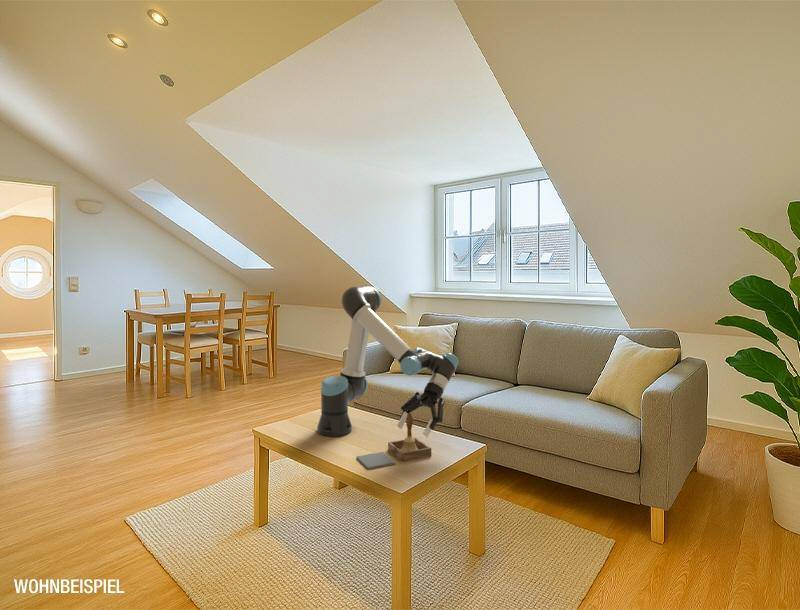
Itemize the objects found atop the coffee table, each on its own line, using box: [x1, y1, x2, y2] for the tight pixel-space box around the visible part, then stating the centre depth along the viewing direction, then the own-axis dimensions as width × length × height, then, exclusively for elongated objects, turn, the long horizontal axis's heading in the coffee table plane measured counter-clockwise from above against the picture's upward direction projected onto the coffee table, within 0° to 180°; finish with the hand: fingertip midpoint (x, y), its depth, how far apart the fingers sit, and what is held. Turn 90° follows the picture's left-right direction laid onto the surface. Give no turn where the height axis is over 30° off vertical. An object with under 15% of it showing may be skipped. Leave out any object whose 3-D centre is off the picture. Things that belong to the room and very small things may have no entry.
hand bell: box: [399, 412, 419, 452], centre depth 185 cm, size 8×8×16 cm
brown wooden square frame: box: [387, 437, 432, 462], centre depth 186 cm, size 13×13×3 cm
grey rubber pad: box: [356, 451, 396, 470], centre depth 177 cm, size 11×11×1 cm
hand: (411, 431), depth 185 cm, fingers open, 13 cm apart
